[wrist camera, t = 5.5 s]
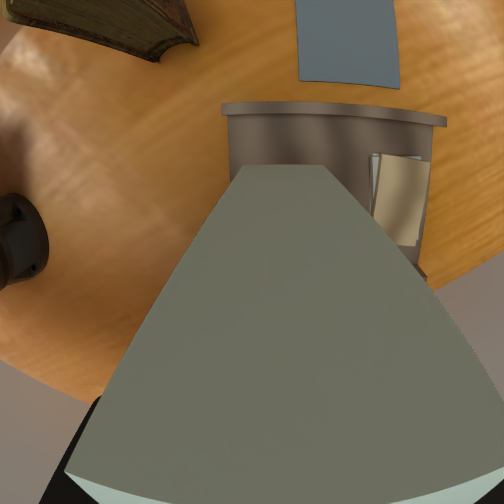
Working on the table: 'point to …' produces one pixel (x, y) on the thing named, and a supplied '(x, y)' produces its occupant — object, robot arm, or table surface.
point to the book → (110, 22)
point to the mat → (348, 42)
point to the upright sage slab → (294, 368)
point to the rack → (330, 141)
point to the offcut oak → (400, 197)
